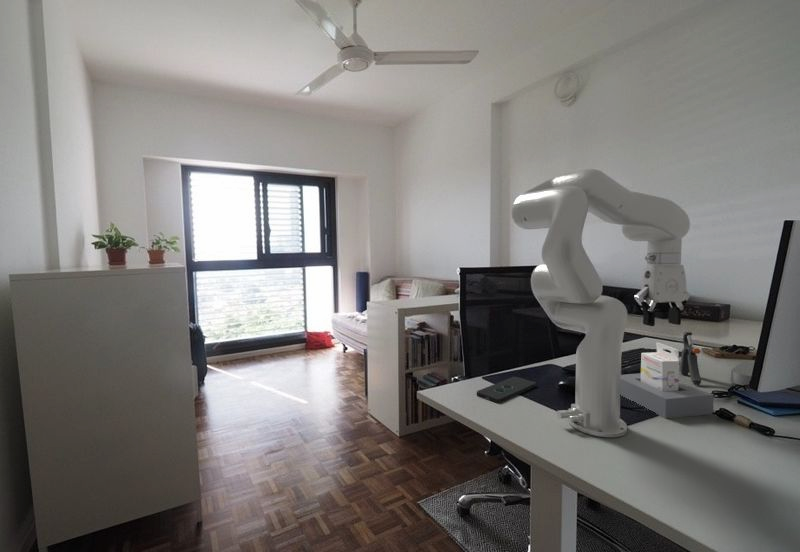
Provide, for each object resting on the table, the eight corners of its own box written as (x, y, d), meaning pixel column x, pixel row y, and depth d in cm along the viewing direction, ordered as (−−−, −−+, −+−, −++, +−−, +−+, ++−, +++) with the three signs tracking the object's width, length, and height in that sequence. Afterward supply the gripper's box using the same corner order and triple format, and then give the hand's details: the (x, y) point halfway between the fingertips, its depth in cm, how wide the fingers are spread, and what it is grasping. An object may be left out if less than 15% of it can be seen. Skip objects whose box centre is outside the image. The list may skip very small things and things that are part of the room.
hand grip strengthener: (693, 386, 114) (695, 338, 113) (679, 373, 126) (680, 329, 125) (702, 387, 113) (704, 338, 112) (687, 374, 125) (688, 330, 124)
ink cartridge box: (638, 392, 107) (640, 342, 106) (655, 391, 108) (656, 341, 107) (661, 404, 99) (663, 350, 98) (679, 403, 99) (681, 349, 98)
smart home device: (475, 390, 110) (514, 375, 122) (475, 396, 110) (514, 380, 123) (498, 399, 103) (537, 382, 116) (498, 405, 103) (537, 387, 116)
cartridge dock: (665, 418, 93) (665, 399, 92) (613, 391, 111) (613, 375, 110) (712, 413, 95) (713, 394, 95) (654, 388, 113) (654, 372, 112)
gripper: (646, 260, 95) (644, 329, 96) (704, 259, 98) (702, 325, 99) (624, 260, 102) (622, 323, 104) (679, 258, 105) (676, 320, 106)
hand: (661, 324), depth 101 cm, fingers open, 7 cm apart
